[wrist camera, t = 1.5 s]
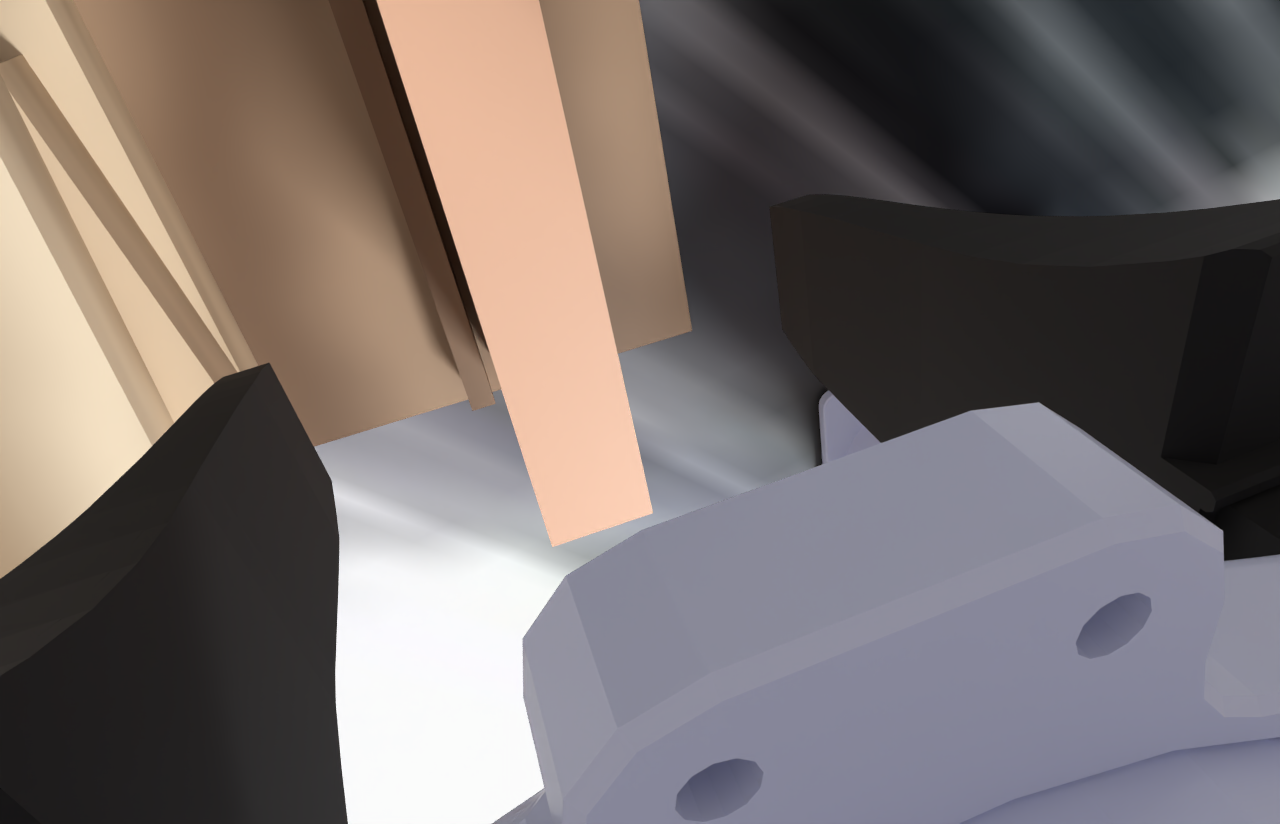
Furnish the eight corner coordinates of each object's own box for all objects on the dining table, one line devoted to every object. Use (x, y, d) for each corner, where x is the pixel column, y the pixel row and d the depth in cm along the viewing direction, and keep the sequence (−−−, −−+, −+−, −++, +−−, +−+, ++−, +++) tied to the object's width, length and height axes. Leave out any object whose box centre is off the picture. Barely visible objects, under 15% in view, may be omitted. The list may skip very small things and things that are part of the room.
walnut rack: (597, -181, 18) (628, -192, 16) (680, 316, 24) (710, 354, 22) (-411, 29, 15) (-531, 49, 13) (-7, 524, 22) (-44, 588, 20)
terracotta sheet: (454, -91, 17) (518, -91, 10) (565, 335, 22) (653, 512, 16) (357, -70, 17) (359, -55, 10) (493, 357, 22) (552, 546, 16)
